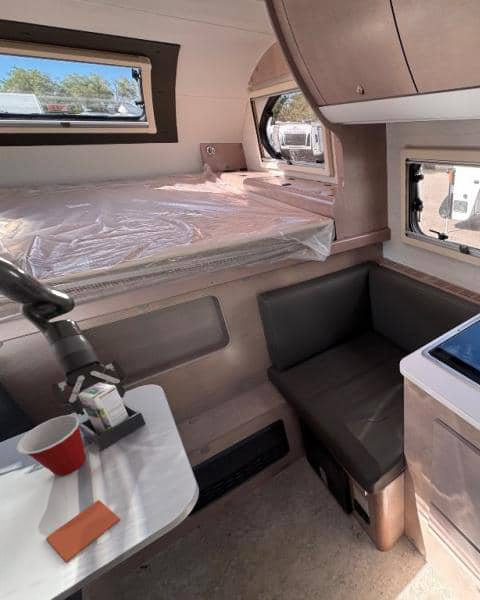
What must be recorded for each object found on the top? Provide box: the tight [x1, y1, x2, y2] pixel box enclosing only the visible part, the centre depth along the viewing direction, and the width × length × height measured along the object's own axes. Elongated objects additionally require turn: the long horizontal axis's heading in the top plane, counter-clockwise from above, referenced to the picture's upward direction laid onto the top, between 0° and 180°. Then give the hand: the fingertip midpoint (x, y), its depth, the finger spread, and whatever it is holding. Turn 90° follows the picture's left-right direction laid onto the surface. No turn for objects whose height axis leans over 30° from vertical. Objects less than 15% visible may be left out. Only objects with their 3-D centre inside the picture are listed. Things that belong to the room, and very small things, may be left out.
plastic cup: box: [16, 414, 87, 477], centre depth 79 cm, size 11×11×12 cm
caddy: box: [79, 400, 146, 451], centre depth 91 cm, size 10×10×4 cm
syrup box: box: [78, 382, 129, 435], centre depth 89 cm, size 6×6×14 cm
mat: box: [45, 499, 121, 563], centre depth 68 cm, size 9×9×1 cm
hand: (103, 405), depth 88 cm, fingers open, 8 cm apart
